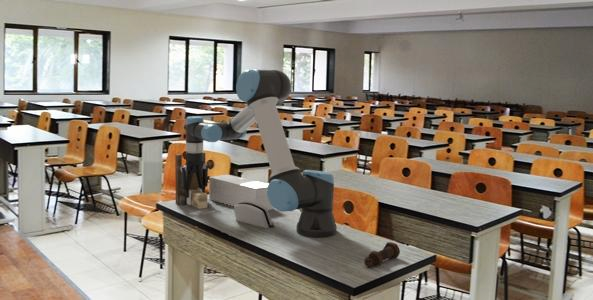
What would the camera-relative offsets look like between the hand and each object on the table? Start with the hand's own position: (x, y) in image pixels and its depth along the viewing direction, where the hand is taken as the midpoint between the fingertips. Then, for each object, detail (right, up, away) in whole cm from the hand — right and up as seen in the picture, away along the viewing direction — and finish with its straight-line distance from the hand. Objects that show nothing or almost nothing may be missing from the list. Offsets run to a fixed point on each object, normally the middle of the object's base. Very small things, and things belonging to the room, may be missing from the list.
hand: (194, 203), depth 242 cm
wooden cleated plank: (-2, 0, +4) cm, 4 cm away
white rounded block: (+28, -5, -28) cm, 40 cm away
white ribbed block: (+20, -1, +3) cm, 20 cm away
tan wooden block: (+1, -1, -1) cm, 2 cm away
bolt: (+72, -13, -68) cm, 100 cm away
